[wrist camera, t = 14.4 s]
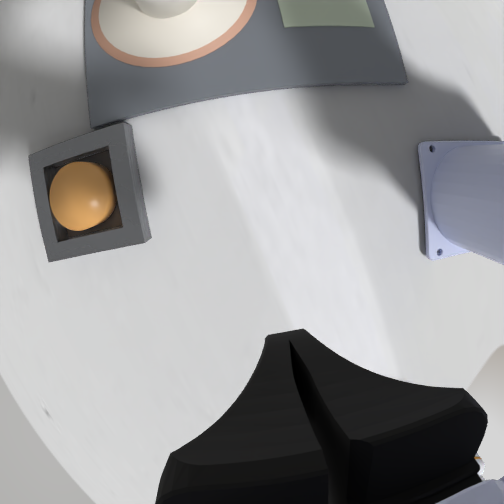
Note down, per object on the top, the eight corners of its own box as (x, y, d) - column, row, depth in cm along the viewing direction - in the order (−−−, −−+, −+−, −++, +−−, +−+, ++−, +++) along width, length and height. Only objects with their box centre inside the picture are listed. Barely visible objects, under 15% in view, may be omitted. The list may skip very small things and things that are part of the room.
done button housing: (131, 125, 17) (123, 122, 16) (151, 237, 19) (144, 242, 17) (40, 156, 17) (28, 155, 16) (59, 256, 19) (48, 262, 17)
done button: (111, 155, 17) (99, 153, 16) (123, 218, 18) (112, 223, 17) (59, 171, 17) (44, 171, 16) (70, 231, 18) (56, 236, 17)
